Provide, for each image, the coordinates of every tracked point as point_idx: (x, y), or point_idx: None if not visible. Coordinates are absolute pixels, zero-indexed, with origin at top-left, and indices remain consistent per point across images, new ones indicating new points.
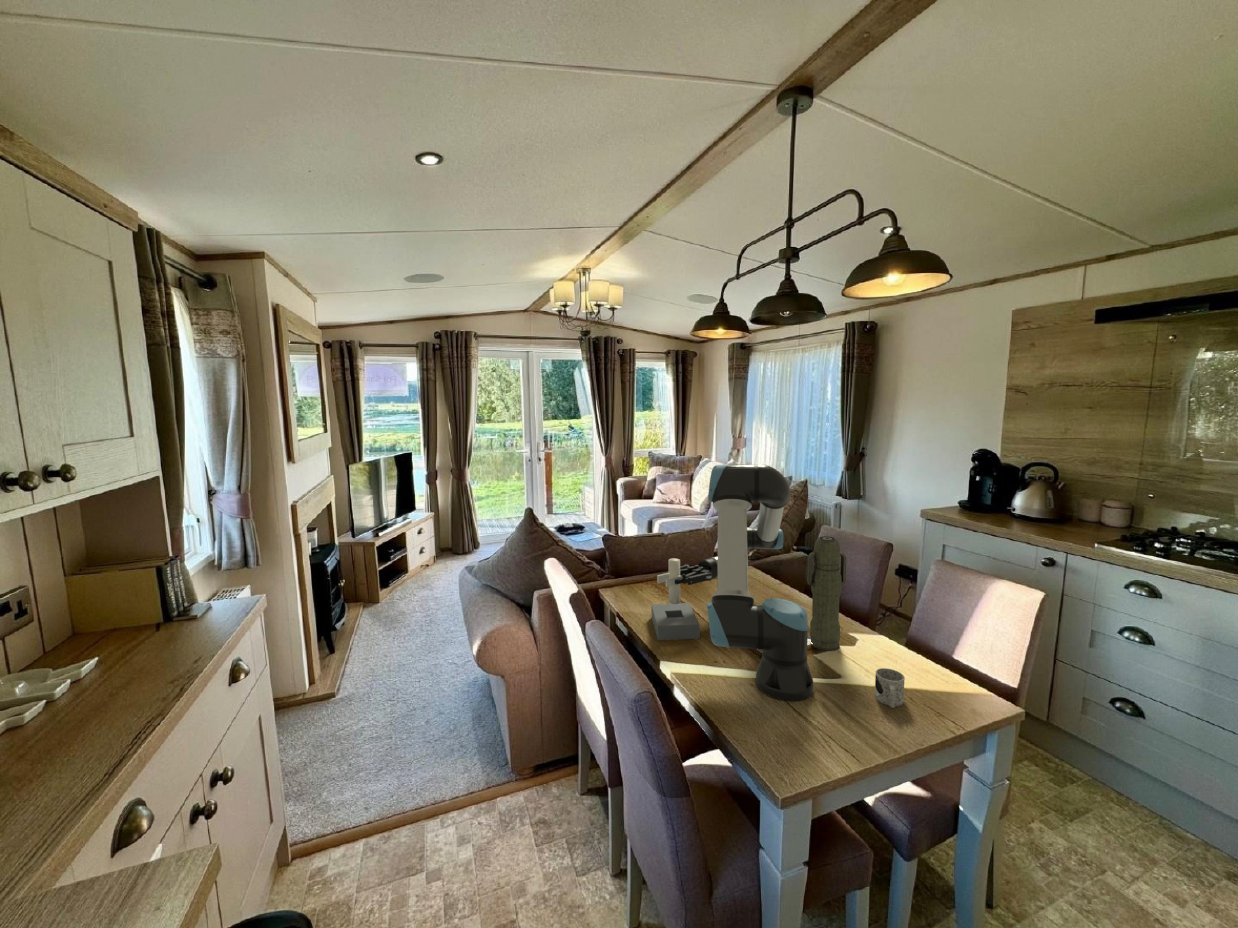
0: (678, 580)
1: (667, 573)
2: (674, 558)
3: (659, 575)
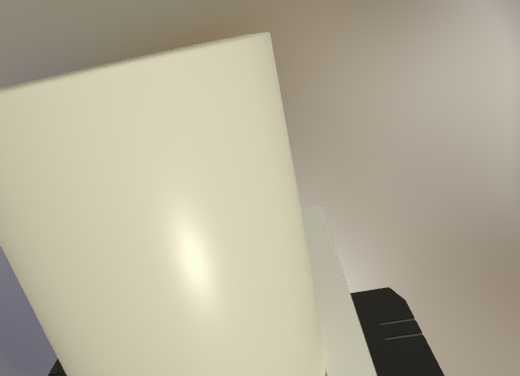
0: (58, 367)
1: (325, 297)
2: (209, 51)
3: (306, 218)
